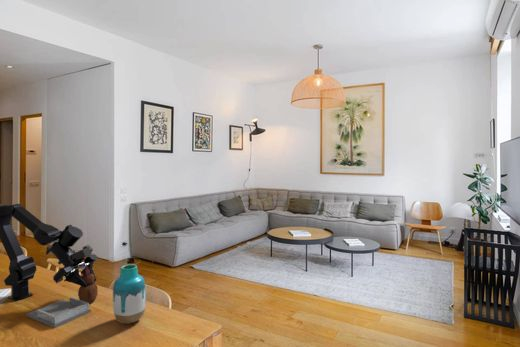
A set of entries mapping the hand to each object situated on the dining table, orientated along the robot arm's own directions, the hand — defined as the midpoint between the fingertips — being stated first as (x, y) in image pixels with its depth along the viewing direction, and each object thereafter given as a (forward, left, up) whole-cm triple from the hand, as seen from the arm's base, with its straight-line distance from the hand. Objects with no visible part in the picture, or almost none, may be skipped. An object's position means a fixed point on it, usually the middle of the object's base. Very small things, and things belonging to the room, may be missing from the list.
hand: (91, 283), depth 129 cm
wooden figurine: (-1, 0, -8) cm, 8 cm away
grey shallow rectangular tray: (-2, -11, -8) cm, 14 cm away
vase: (+25, -2, -8) cm, 26 cm away
